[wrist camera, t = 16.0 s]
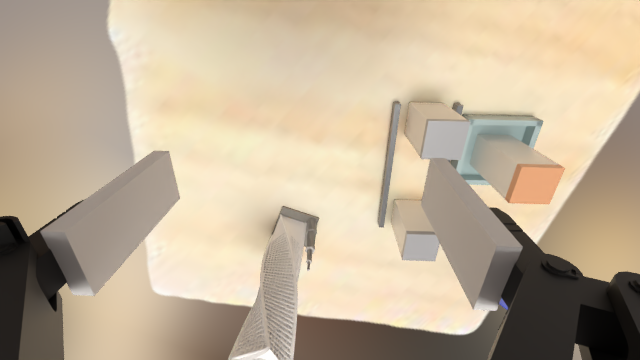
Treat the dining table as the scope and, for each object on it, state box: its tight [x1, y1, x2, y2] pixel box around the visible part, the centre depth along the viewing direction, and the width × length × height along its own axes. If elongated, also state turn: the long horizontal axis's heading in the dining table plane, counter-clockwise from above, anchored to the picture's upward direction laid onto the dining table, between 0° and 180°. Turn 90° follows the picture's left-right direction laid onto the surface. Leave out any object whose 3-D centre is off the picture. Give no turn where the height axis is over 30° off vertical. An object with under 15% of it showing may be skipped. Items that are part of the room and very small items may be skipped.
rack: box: [378, 102, 470, 261], centre depth 45 cm, size 22×10×10 cm, turn 179°
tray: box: [450, 115, 543, 185], centre depth 46 cm, size 11×11×2 cm
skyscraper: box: [228, 206, 319, 360], centre depth 44 cm, size 8×8×28 cm
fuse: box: [470, 134, 565, 204], centre depth 42 cm, size 5×5×12 cm
